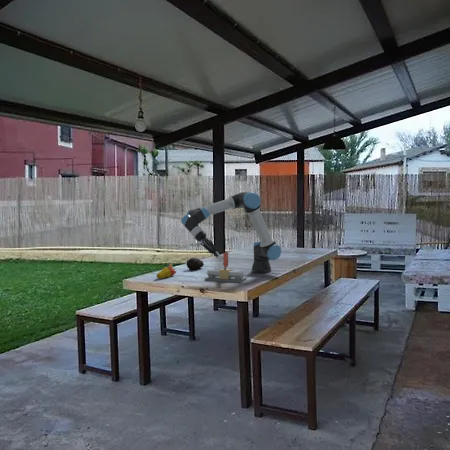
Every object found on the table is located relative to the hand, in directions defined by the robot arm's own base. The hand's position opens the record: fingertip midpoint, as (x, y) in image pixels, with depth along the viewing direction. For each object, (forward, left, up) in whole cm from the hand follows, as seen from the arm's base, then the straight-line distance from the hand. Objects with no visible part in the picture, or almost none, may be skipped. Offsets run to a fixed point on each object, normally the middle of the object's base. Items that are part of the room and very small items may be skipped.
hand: (221, 259), depth 323 cm
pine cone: (-52, -47, -16) cm, 72 cm away
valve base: (-13, -3, -16) cm, 20 cm away
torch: (-10, -49, -16) cm, 53 cm away
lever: (-7, 0, -5) cm, 9 cm away
